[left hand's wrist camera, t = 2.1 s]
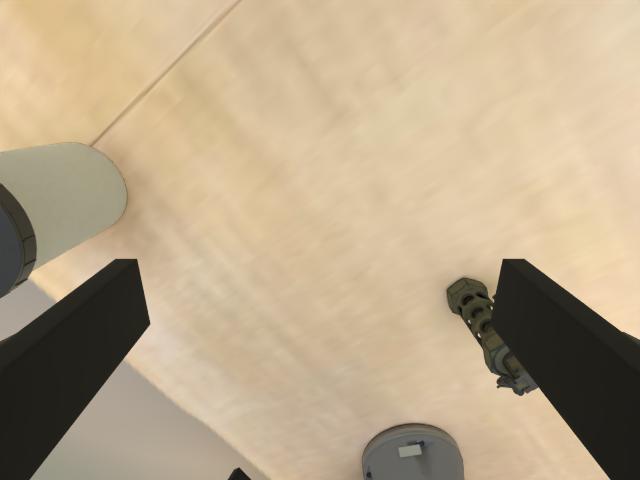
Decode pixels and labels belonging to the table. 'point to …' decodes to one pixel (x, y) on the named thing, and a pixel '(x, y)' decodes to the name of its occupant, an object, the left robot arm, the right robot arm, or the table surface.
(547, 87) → the table surface
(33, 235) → the lid
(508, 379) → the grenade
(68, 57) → the table surface
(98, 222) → the jar
